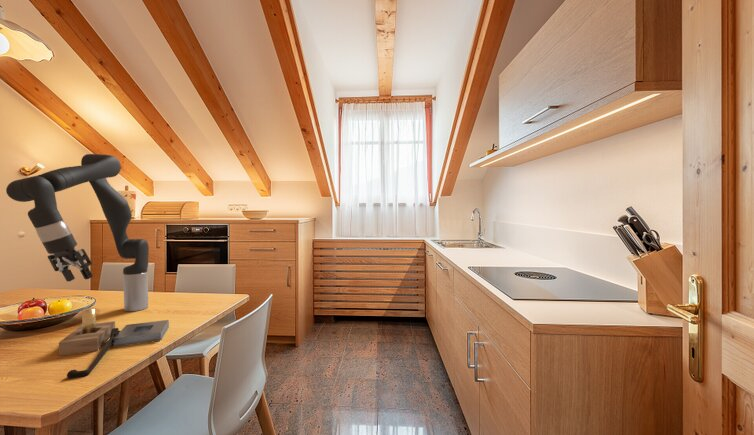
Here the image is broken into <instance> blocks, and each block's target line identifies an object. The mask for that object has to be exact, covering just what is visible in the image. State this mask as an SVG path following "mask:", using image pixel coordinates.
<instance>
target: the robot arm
mask: <svg viewBox="0 0 754 435" xmlns="http://www.w3.org/2000/svg"><path fill="white" fill-rule="evenodd" d="M80 161H81V162H80V165H75V166H66V167H61V168H57V169H53V170H50V171H45V172H43V173H41V174H38V175H34V176H29V177H24V178H20V179H16V180H12V181H11V182H10V183H9V184H8V185H7V186H6V189H5V190H6V195H7V196H8V197H9V198H10V199H12V200H13V201H16V202H21V203H22V202H23V203H26V202H31V201H33V202H34V207H33V208H31V209H30V210H28V211H27V216H28V219H29V220H30V222H31V224H32V225H33V227H34V229H35V231H36V234H37V236H38V238H39V240H40V242H41V244H42V245H43V248H44V249H45V250H46V252H47V253H48V254H49V255H47V260H48V261H49V262H50V265H51V267H52V268H53V270H54V272H59V273H61V274H62V275H63V277H64V279H65V281H66V282H71V281H74V280H75V279H76V277H75V275H74V274H73V272H72V270H71V269H70V266H71V267H76V268H77V269H78V270H79V271H80V274H81V275H82V277H83V279H84V280H89V279H91V278H93V273H92V272H91V269H90V268H89V267H90V266H92V265H93V262H92V260H91V259H90V257H89V256H88V254H87V252H86V250H85V249H84V248H81V249H79V250H77V249H76V248H75V247H77V246H78V243H77V241H76V239H75V237H74V235H73V232H71V230H70V227H69V226H68V225H67V223H66V222H65V220H64V219H63V217H62V215H61V213H60V211H59V210H58V204H57V197H56V193H57V192H58V193H59V192H62V191H65V190H67V189H71V188H73V187H75V186H79V185H81V184H85V183H89V184H90V186H91V188H92V189H93V191H94V193H95V195H96V197H97V200H98V202H99V204H100V207H101V211H102V212H103V214H104V216H105V219H106V221H107V222H108V225H109V228H110V231H111V233H112V237H113V240H114V243H115V247H116V250H117V253H118V255H119V257H120V258H121V259H126V260H127V259H129V260H130V259H134V261H135V262H134V263H132V264H131V265H127V266H124V268H123V269H122V276H123V277H122V280H123V309H124V312H137V311H141V310H145V309H147V308H149V280H148V267H149V252H150V250H149V249H150V247H149V243H148V241H147V240H146V239H145V238H144V239H143V238H129V237H128V236H129V235H128V234H127V228H128V227H129V224H130V222H131V220H132V217H133V214H132V211H131V207H130V205H129V203H128V200H127V199H126V198H125V197H124V196H123V195H122V194H121V193H120V192H119V191H118V190H116V189H115V188H114V187H113V186H112V185H111V184H110V183H109V181H108V180H107V179H108V178H114V177H117V176H118V175H119V174H120V172H121V170H122V169H121V168H122V166H121V162H120V160H119V159H118V158H117V157H116V156H114V155H111V154H103V153H102V154H100V153H99V154H98V153H86V154H84V155H83V156H82V157H81V160H80Z"/></svg>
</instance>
